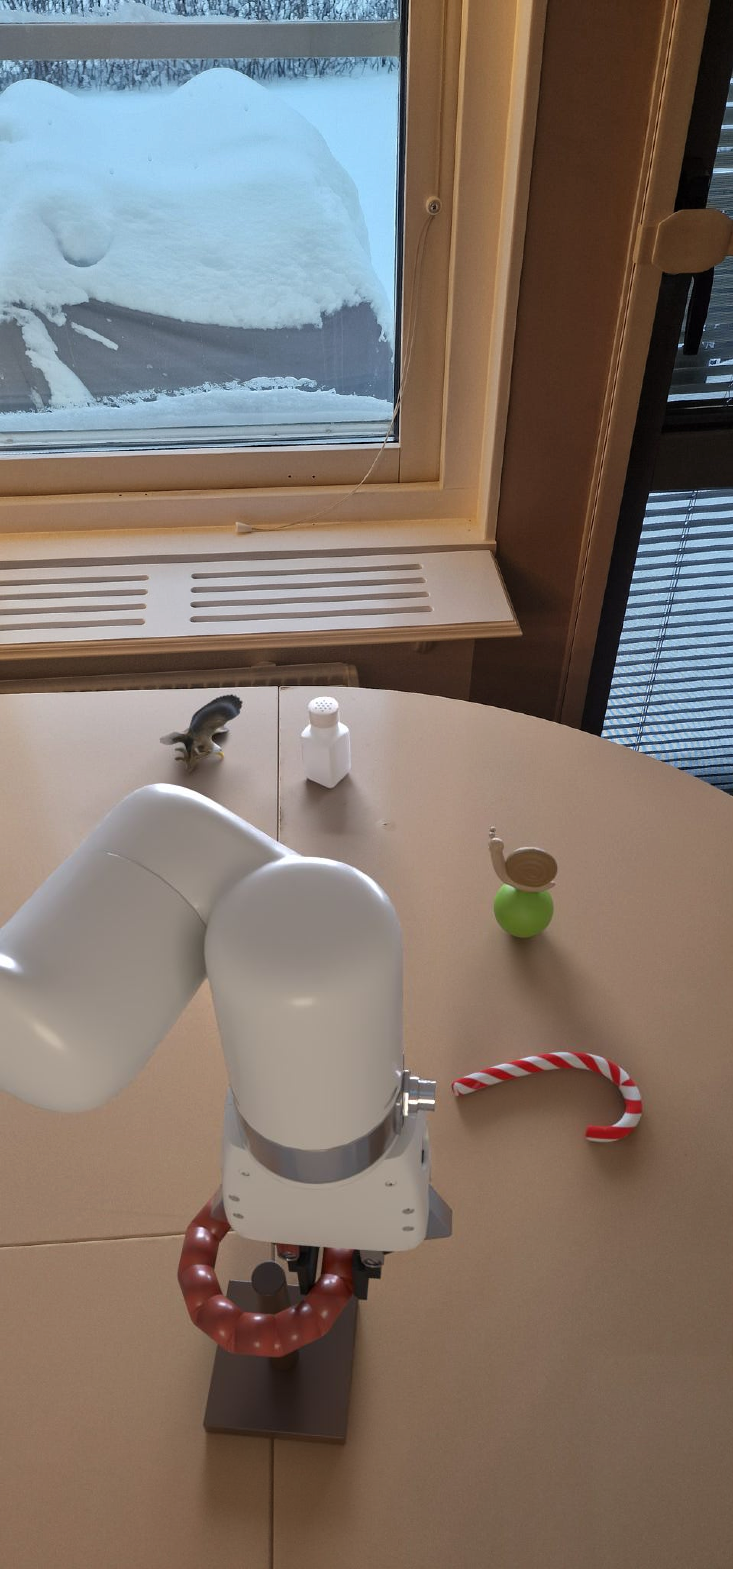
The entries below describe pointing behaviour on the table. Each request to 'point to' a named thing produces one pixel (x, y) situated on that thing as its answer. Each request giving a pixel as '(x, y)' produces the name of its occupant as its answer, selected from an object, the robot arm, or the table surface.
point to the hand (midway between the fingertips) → (336, 1269)
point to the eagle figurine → (205, 729)
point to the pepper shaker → (325, 744)
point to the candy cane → (565, 1061)
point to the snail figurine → (523, 888)
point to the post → (283, 1373)
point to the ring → (257, 1329)
